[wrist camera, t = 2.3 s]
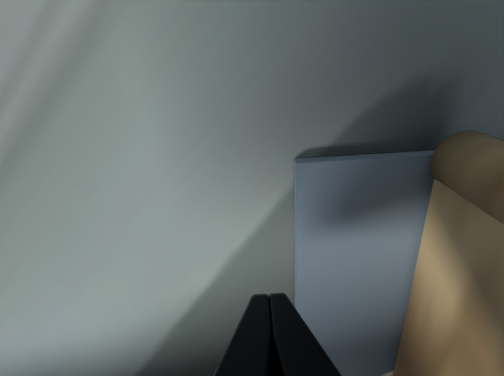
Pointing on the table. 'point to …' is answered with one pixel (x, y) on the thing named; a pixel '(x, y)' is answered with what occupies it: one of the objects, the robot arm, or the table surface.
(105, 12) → the table surface
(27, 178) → the table surface
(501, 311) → the folding fence panel
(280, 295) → the robot arm
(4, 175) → the table surface
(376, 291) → the board
